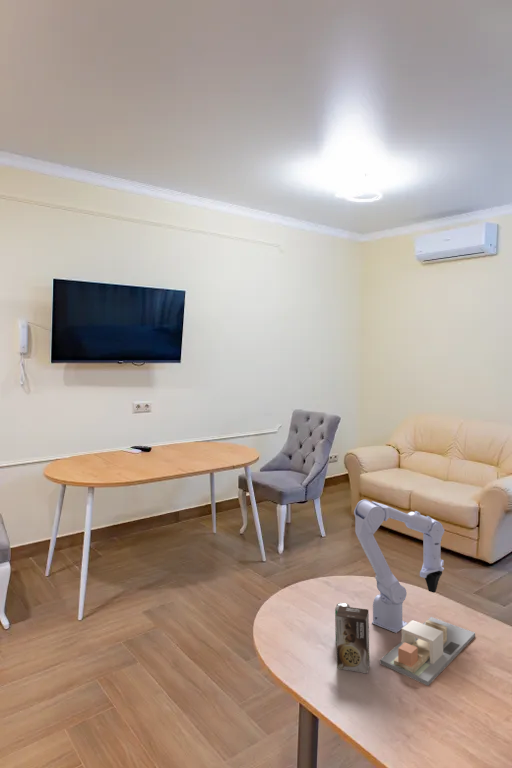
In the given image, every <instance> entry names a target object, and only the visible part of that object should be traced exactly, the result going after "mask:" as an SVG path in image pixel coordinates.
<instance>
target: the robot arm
mask: <svg viewBox="0 0 512 768" xmlns="http://www.w3.org/2000/svg"><path fill="white" fill-rule="evenodd" d="M353 515H354V517H355V518H354V519H355V521H354V522H355V523H354V525H355V529H354V530H355V536H356V537H357V539H358V542H359V544H360V546H361V548H362V550H363V551H364V554H365V556H366V558H367V559H368V562H369V563H370V565H371V568H372V569H373V571H374V574H375V576H374V579H375V581H376V588H377V590H378V592H379V594H376V596H375V597H374V598H373V601H372V621H371V624H373V625H375V626H378V627H380V628H382V629H385V630H387V631H390V632H392V633H395V634H397V633H399V632H400V631H402V628H403V627H404V626H405V625H407V624H408V623H409V622H406V621H404V620H403V603H404V601H405V600H406V599H407V590H406V588H405V587H404V586H403V585H402V584H401V583H400V581H399V580H398V579H397V577H396V576H395V575H394V573H393V572H392V570H391V568H390V566H389V564H388V562H387V560H386V558H385V556H384V554H383V552H382V549H381V548H380V546H379V544H378V542H377V540H376V538H375V533H376V532H377V530H378V529H379V528H380V526H381V525H382V524H383V522H384V521H385V522H387V521H388V520H389V519H393V520H395V521H397V522H401V523H404V525H405V526H406V528H407V529H410V530H413V531H416V532H419V533H422V534H423V539H422V541H423V545H422V549H423V551H422V552H423V560H422V561H423V563H422V566H421V570H419V577H421V578H422V579H425V583H426V586H427V589H428V592H430V593H436V591H437V588H438V585H439V582H440V581H439V580H440V578H441V576H442V575H443V571H444V570H445V568H444V565H445V562H444V561H445V560H444V559H442V558H441V557H442V556H441V555H442V554H441V553H442V552H441V551H442V550H441V548H442V547H441V543H442V542H441V541H442V538H443V536H444V534H445V530H446V529H445V528H444V526H443V524H442V523H441V522H440V521H438V520H436V519H434V518H432V517H431V516H429V515H426V516H425V515H423V514H421V512H419V511H416V510H415V511H410V512H408V513H406V512H403V511H401V510H398V509H396V508H393V507H392V506H390V505H386V504H383V503H379V502H377V501H373V500H372V501H370V500H368V499H362V500H359V501H358V502H357V504H356V505H355V508H354V510H353Z"/></svg>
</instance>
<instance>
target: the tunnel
mask: <svg viewBox="0 0 512 768" xmlns="http://www.w3.org/2000/svg"><path fill="white" fill-rule="evenodd" d="M407 623H408V624H407V625H405V626H404V627H403V628H402V629H401V642H402V644H404V643H408V644H410V645H412V644H413V643H414V642H415V641H416V640H415V637H416V638H418V639H421V640H423V641H426V642H428V643H430V663H431V664H434V663H435V662H436V661H437V660H438V659H439V658H440V657H441V656H442V655H443V631H441V630H438V629H435V628H433V627H430V626H427V625H425V624H423V623H422V622H419V621H416V620H413V619H412V620H410V621H409V622H407Z"/></svg>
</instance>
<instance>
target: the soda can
mask: <svg viewBox="0 0 512 768" xmlns="http://www.w3.org/2000/svg"><path fill="white" fill-rule="evenodd" d="M339 606H344V607H351V606H350V604H348V603H345V602H339V603H336V606H335V608H334V611H335V613H334V616H335V619H334V622H335V623H334V624H335V625H334V626H335V627H334V629H335V630H334V631H335V642H336V643H337V636H336V614H337V611H338V609H339Z"/></svg>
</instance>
